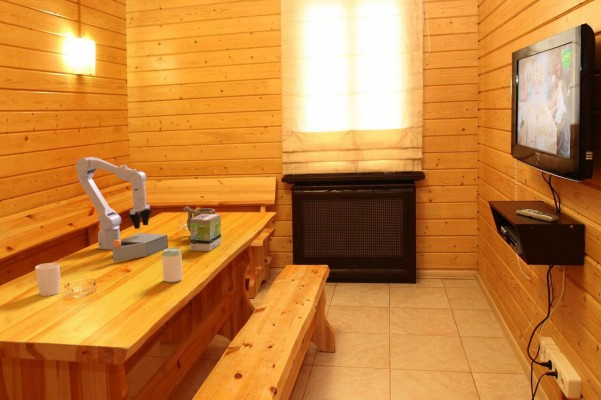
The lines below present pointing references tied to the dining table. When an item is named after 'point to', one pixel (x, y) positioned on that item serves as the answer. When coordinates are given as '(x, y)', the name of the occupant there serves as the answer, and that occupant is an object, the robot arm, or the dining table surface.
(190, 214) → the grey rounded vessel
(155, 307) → the dining table surface
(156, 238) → the carton
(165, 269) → the can
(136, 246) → the grey drawer
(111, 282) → the dining table surface
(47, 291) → the white cup
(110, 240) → the robot arm
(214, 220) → the tea box
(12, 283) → the dining table surface
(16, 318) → the dining table surface
